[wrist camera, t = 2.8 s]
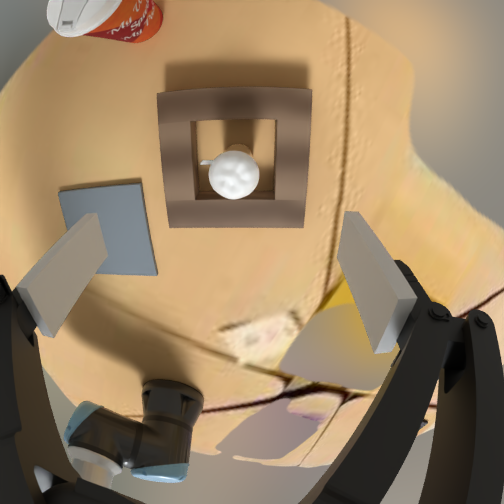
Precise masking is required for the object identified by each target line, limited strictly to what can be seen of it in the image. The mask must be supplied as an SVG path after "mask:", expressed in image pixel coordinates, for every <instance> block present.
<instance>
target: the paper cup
mask: <svg viewBox="0 0 504 504" xmlns="http://www.w3.org/2000/svg"><path fill="white" fill-rule="evenodd" d="M47 19H48V22H49V24H50V25H51V26H52V27H53V28H54V30H55V31H56V32H57V33H58V34H59V35H61V36H65V37H77V36H80V35H86V36H94V37H100V38H107V39H113V40H119V41H124V42H131V43H138V42H143V41H146V40H148V39H149V38H151V37H152V36H154V35H155V34H156V33H157V31H158V30H159V29H160V27H161V25H162V21H163V15H162V12H161V10H160V9H159V7H158V6H157V5H156V4H155V2H154V1H153V0H49V2H48V6H47Z"/></svg>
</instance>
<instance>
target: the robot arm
mask: <svg viewBox="0 0 504 504" xmlns="http://www.w3.org/2000/svg"><path fill="white" fill-rule="evenodd" d="M107 256H108V253H107V250H106V246H105V243H104V239H103V235H102V231H101V228H100V224H99V219H98V215H97V213H87V214H85V215H84V216H83V217H82V218H81V219H80V220H79V221H78V222H77V223H76V224H74V225H73V226H72V227H71V228H70V229H69V230H68V231H67V232H66V233H65V234H64V235H63V236H62V237H61V238H60V239H59V240H58V241H57V242H56V243H55V244H54V245H53V246H52V247H51V248H50V249H49V250H48V251H47V252H46V253H45V254H44V255H43V257H42V258H41V259H40V260H39V261H38V262H37V263H36V264H35V265H34V266H33V267H32V269H31V270H30V271H29V272H28V273H27V274H26V275H25V277H24V278H23V279H22V280H21V281H20V282H19V284H18V285H17V286H16V287H15V289H14V290H13V291H11V289H10V287H9V285H8V283H7V281H6V279H5V276H4V275H0V504H145V503H143V502H141V501H139V500H136V499H133V498H131V497H128V496H125V495H123V494H120V493H118V492H116V491H113V490H111V485H112V479H113V476H114V475H116V474H119V473H121V472H122V468H123V466H124V467H127V468H130V469H132V470H131V474H132V475H133V476H135V477H138V478H141V479H145V480H151V481H157V482H170V483H174V482H181V481H183V480H185V478H186V476H187V470H188V466H189V457H190V448H191V439H192V431H193V426H194V425H195V423H196V421H197V419H198V417H199V415H200V413H201V412H202V409H203V403H204V399H203V397H202V395H201V394H200V393H199V392H198V391H196V390H195V389H193V388H191V387H189V386H187V385H184V384H181V383H178V382H174V381H169V380H152V381H149V382H147V383H145V385H144V387H143V390H142V404H143V414H144V416H143V421H142V423H140V422H138V421H135V420H133V419H130V418H128V417H125V416H123V415H120V414H118V413H116V412H113V411H111V410H109V409H107V408H104V406H99V405H97V404H95V403H92V402H90V401H83V402H82V403H80V404H79V406H78V407H77V408H76V410H75V411H74V413H73V415H72V417H71V418H70V420H69V423H68V426H67V428H66V430H65V433H64V441H65V442H66V443H67V444H69V445H68V448H67V451H68V453H69V455H70V456H71V458H72V461H71V463H70V462H69V460H68V457H67V455H66V452H65V449H64V447H63V444H62V441H61V438H60V435H59V432H58V430H57V426H56V423H55V419H54V416H53V413H52V409H51V406H50V402H49V398H48V394H47V389H46V385H45V380H44V375H43V371H42V365H41V359H40V353H39V346H38V339H37V335H36V333H35V332H34V330H35V328H36V326H37V327H38V328H39V330H40V331H41V333H42V335H44V336H48V337H52V338H54V337H55V336H56V334H57V332H58V330H59V329H60V327H61V325H62V324H63V322H64V320H65V319H66V317H67V315H68V314H69V312H70V311H71V309H72V307H73V306H74V304H75V303H76V301H77V300H78V298H79V297H80V295H81V293H82V292H83V290H84V289H85V287H86V286H87V284H88V283H89V282H90V280H91V279H92V277H93V276H94V274H95V273H96V271H97V270H98V269H99V267H100V266H101V264H102V263H103V262H104V260H105V259H106V257H107ZM337 259H338V261H339V264H340V266H341V268H342V271H343V273H344V275H345V278H346V280H347V283H348V285H349V288H350V290H351V293H352V295H353V298H354V300H355V303H356V305H357V308H358V311H359V313H360V316H361V319H362V321H363V324H364V327H365V329H366V332H367V335H368V338H369V340H370V344H371V346H372V349H373V352H374V354H377V353H385V352H391V351H392V350H393V348H394V346H395V344H396V342H397V343H398V345H399V348H400V351H399V352H398V354H397V356H396V358H395V359H394V361H393V363H392V364H391V368H390V371H389V373H388V375H387V376H386V378H385V380H384V382H383V384H382V386H381V388H380V390H379V391H378V393H377V395H376V397H375V399H374V400H373V402H372V404H371V406H370V407H369V409H368V411H367V412H366V414H365V416H364V417H363V419H362V421H361V422H360V424H359V425H358V427H357V428H356V430H355V432H354V433H353V435H352V436H351V438H350V439H349V441H348V442H347V443H346V445H345V446H344V448H343V449H342V451H341V452H340V453H339V455H338V456H337V458H336V459H335V460H334V462H333V463H332V464H331V466H330V467H329V468H328V470H327V471H326V472H325V474H324V475H323V476H322V477H321V479H320V480H319V481H318V482H317V483H316V485H315V486H314V487H313V488H312V489H311V490H310V492H309V493H308V494H307V495H306V496H305V497H304V498H303V499H302V500H301V501H300V502H299V503H298V504H380V502H381V501H382V499H383V498H384V496H385V494H386V493H387V491H388V489H389V488H390V486H391V484H392V483H393V481H394V479H395V477H396V476H397V474H398V472H399V470H400V468H401V466H402V465H403V463H404V461H405V459H406V457H407V455H408V453H409V451H410V449H411V447H412V444H413V442H414V440H415V438H416V436H417V433H418V431H419V429H420V426H421V424H422V422H423V419H424V417H425V414H426V411H427V409H428V406H429V403H430V401H431V398H432V395H433V392H434V389H435V386H436V383H437V380H438V377H439V386H438V401H437V412H436V421H435V429H434V436H433V443H432V449H431V454H430V459H429V464H428V469H427V474H426V478H425V482H424V486H423V490H422V493H421V497H420V500H419V504H501V499H502V493H503V486H504V376H503V368H502V362H501V356H500V350H499V345H498V340H497V335H496V331H495V326H494V323H493V321H492V319H491V318H490V317H489V315H488V314H486V313H485V312H483V311H480V310H475V309H474V310H471V311H470V313H469V314H468V316H467V317H466V319H462V318H457V317H452V315H451V313H450V311H449V310H448V309H447V308H446V307H445V306H443V305H441V304H440V303H436V302H432V301H431V300H430V298H429V297H428V295H427V294H426V292H425V291H424V289H423V287H422V286H421V284H420V283H419V282H418V280H417V278H416V277H415V276H414V274H413V273H412V271H411V270H410V268H409V267H408V266H407V265H406V264H404V263H403V262H402V261H401V260H393V259H392V257H391V256H390V254H389V253H388V251H387V250H386V249H385V247H384V246H383V244H382V243H381V241H380V240H379V239H378V237H377V236H376V234H375V233H374V232H373V230H372V229H371V228H370V226H369V225H368V224H367V222H366V221H365V220H364V218H363V217H362V216H361V214H360V213H359V212H352V211H345V213H344V220H343V226H342V232H341V238H340V243H339V249H338V254H337ZM41 491H42V492H43V493H42V492H41Z"/></svg>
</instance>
